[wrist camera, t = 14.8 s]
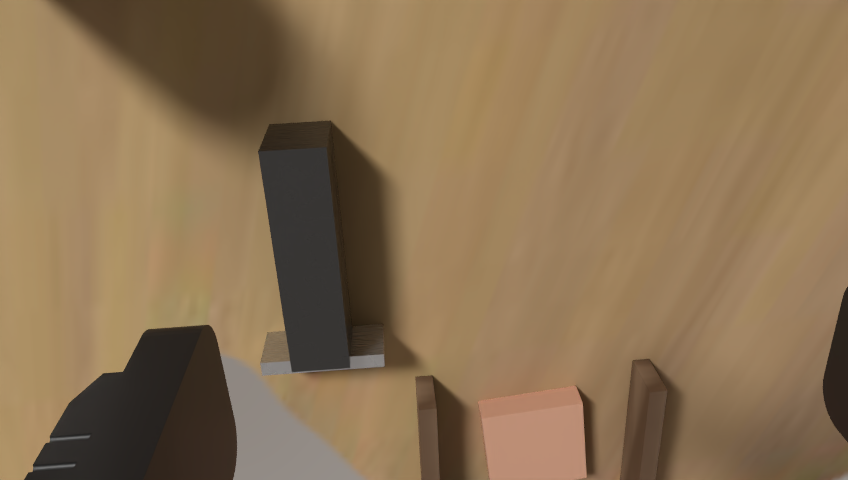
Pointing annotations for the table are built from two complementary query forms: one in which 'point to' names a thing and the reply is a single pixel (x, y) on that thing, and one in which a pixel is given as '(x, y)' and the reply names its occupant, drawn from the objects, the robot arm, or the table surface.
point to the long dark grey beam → (310, 257)
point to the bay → (639, 430)
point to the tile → (534, 435)
